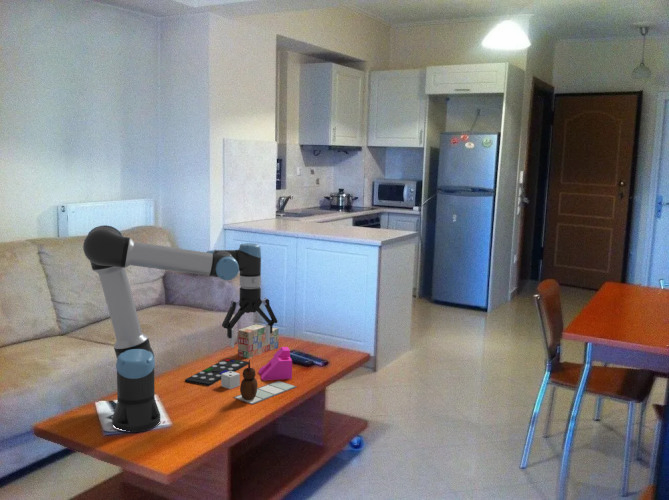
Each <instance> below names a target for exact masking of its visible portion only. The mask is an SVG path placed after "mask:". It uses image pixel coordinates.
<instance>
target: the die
mask: <svg viewBox="0 0 669 500" xmlns="http://www.w3.org/2000/svg"><path fill="white" fill-rule="evenodd" d="M220 384H221V386H220V387H223V388H225V389H229V390H232V389H235V388H237V387H240V386H241V374H240V373H239V372H237V371H235V372H233V371H229V372H226V373H223V374H221V382H220Z"/></svg>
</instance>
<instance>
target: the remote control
mask: <svg viewBox="0 0 669 500" xmlns="http://www.w3.org/2000/svg"><path fill="white" fill-rule="evenodd" d="M248 363H249V361H247V360H240V359H235V358H228V357H227V358H225V359H222V360H220V361H219V362H216V363H214V364H212V365H211V366H209V367H206V368H205V369H202V370H201V371H199V372H197V373H195V374H193V375H191V376H189V377H187V378H185V379H184V382H185V383H191V384H194V385H195V384H196V385H201V386H206V387H210V386H212V385H214V384H216V383H217V382H219V381H220V380H221V374H223V373H226V372H229V371H233V372H237V371H239V370H240V369H241V370H242V369H243V368H244V367H246V366H248Z"/></svg>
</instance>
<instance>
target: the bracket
mask: <svg viewBox="0 0 669 500" xmlns="http://www.w3.org/2000/svg"><path fill="white" fill-rule="evenodd" d="M258 374H259V376H260V378H261V381H274V380H275V381H276V380H277V381H279V380H292V379H293V360H292V358H291V350H290V348H289V346H281V347H280V348H279V349H278V350H277V351H276V352H275V353H274V354H273V357H272V358H271V359H270V360H269V361H268V362H267V363H266V364H265V365H262V367H260V368H259V369H258Z"/></svg>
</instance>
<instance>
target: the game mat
mask: <svg viewBox="0 0 669 500" xmlns="http://www.w3.org/2000/svg"><path fill="white" fill-rule="evenodd" d="M295 388H297V385H296V386H295V385H293V384H290V383H287V382H283V381H280V380H277V381H276V380H275V381H273V382H271V383H268V384H265V385H262V386H260V387H257V393H256V396H255V398H253V399H251V400H246V399H244V398H242V395H241V393H240V394H238V395H235V396H233V397H232V398H234V399H236V400H239V401H241V402H244V403H246V404H250V405H251V406H252V405H255V404H258V403H260V402H263V401H265V400H268V399H270V398H273V397H275V396H278V395H281V394H283V393H285V391H286V392H288V391H290V390H293V389H295Z"/></svg>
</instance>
